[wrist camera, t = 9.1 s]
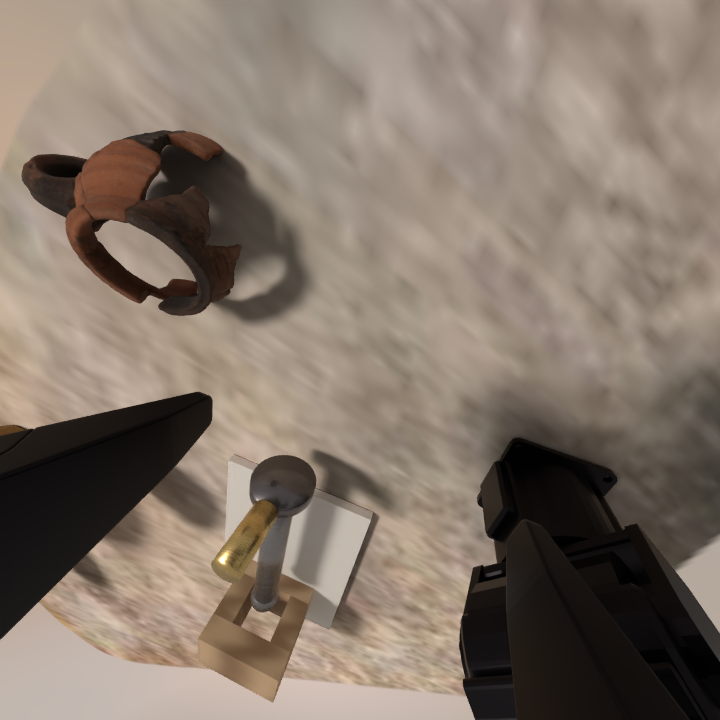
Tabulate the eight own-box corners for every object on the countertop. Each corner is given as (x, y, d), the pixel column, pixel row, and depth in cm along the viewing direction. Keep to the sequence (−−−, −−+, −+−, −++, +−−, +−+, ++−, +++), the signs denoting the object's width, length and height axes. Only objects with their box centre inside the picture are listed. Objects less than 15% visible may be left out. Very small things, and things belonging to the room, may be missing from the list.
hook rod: (326, 465, 23) (265, 580, 16) (296, 586, 31) (245, 703, 23) (272, 443, 24) (188, 544, 16) (256, 568, 32) (194, 675, 24)
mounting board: (373, 512, 27) (371, 520, 26) (331, 621, 35) (329, 629, 35) (234, 454, 29) (228, 460, 28) (227, 571, 37) (223, 578, 37)
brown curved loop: (271, 143, 18) (210, 216, 13) (271, 269, 25) (232, 344, 21) (53, 69, 16) (-104, 119, 12) (122, 224, 24) (43, 294, 19)
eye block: (314, 588, 32) (278, 681, 26) (307, 611, 34) (273, 702, 28) (248, 557, 33) (198, 638, 27) (245, 582, 36) (198, 662, 29)
